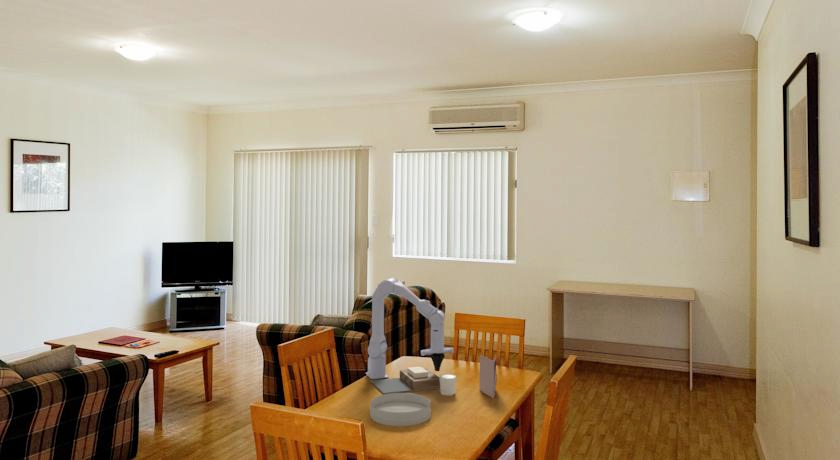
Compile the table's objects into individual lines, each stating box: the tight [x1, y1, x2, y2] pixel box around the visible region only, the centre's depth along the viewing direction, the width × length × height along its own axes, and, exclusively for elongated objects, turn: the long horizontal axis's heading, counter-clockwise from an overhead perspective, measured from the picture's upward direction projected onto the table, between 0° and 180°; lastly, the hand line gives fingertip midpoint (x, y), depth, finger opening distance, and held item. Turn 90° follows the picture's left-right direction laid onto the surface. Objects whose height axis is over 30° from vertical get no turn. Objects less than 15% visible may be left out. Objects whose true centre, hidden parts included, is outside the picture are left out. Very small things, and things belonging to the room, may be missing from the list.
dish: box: [369, 392, 432, 427], centre depth 222 cm, size 22×22×5 cm
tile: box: [407, 365, 428, 378], centre depth 259 cm, size 9×6×2 cm, turn 21°
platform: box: [399, 367, 440, 392], centre depth 259 cm, size 18×12×4 cm, turn 21°
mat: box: [370, 377, 414, 395], centre depth 255 cm, size 18×12×1 cm
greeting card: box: [478, 354, 498, 399], centre depth 246 cm, size 11×7×15 cm, turn 168°
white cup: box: [438, 373, 457, 396], centre depth 247 cm, size 7×7×7 cm
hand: (437, 370), depth 262 cm, fingers closed
